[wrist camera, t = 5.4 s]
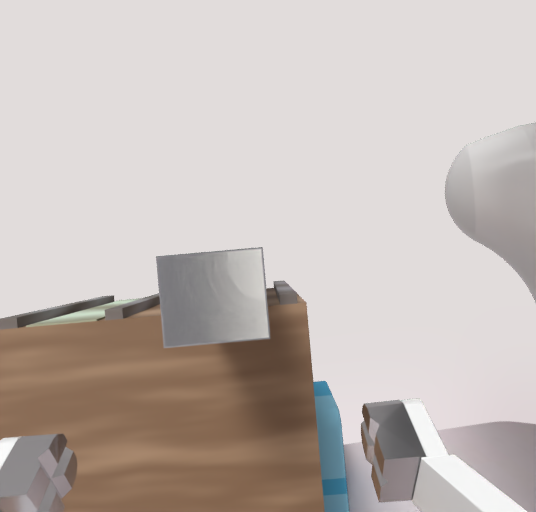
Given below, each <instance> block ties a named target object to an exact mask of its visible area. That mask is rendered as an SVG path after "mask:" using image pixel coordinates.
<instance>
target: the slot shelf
mask: <svg viewBox="0 0 536 512" xmlns="http://www.w3.org/2000/svg"><path fill="white" fill-rule="evenodd" d="M266 293H267V304H268V316H269V328H270V339H262V340H251V341H239V342H228V343H217V344H206V345H194V346H183V347H172V348H164V345H163V333H162V321H161V309H160V297H159V293H158V294H155V295H152V296H149V297H145V298H142V299H130V300H119V301H115V302H114V296H104V297H98V298H94V299H90V300H85V301H80V302H75V303H71V304H66V305H62V306H57V307H53V308H48V309H44V310H38V311H34V312H29V313H25V314H20V315H15V316H11V317H6V318H2V319H0V440H2V439H3V438H9V437H20V436H34V435H48V434H61V433H63V434H64V435H65V437H66V439H67V440H68V442H67V444H66V447H67V448H69V449H70V450H72V451H74V453H75V455H76V458H77V464H78V466H77V474H76V479H75V481H74V484H73V487H72V489H71V490H70V491H69V492H68V493H67V494H66V495H65V496H64V497H63V501H64V504H65V508H64V510H63V512H325V510H324V499H323V488H322V476H321V465H320V454H319V442H318V431H317V419H316V408H315V397H314V385H313V374H312V363H311V352H310V340H309V328H308V317H307V306H306V302H305V301H304V300H303V299H302V298H301V297H300V296H299V295H298V294H297V293H296V292H295V291H294V290H293V289H292V288H291V287H290V286H289V285H288V284H287V283H286V282H285V281H275V282H274V288H268V289H266Z"/></svg>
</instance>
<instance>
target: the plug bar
mask: <svg viewBox="0 0 536 512" xmlns="http://www.w3.org/2000/svg"><path fill="white" fill-rule="evenodd" d="M156 261H157V272H158V283H159V284H158V285H159V297H160V309H161V321H162V333H163V345H164V348H172V347H183V346H194V345H206V344H217V343H228V342H239V341H251V340H262V339H270V328H269V316H268V304H267V293H266V281H265V269H264V258H263V248H262V247H259V248H248V249H237V250H225V251H214V252H201V253H190V254H178V255H167V256H157V257H156Z"/></svg>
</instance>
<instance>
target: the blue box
mask: <svg viewBox="0 0 536 512" xmlns="http://www.w3.org/2000/svg"><path fill="white" fill-rule="evenodd" d="M313 385H314V397H315V408H316V419H317V431H318V442H319V454H320V465H321V476H322V488H323V499H324V510H325V512H349V504H348V493H347V482H346V470H345V459H344V448H343V437H342V425H341V418H340V414H339V409H338V407H337V405H336V402H335V400H334V398H333V396H332V393H331V391H330V389H329V387H328V385H327V382H326V381H320V382H313Z"/></svg>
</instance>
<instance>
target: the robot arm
mask: <svg viewBox="0 0 536 512" xmlns="http://www.w3.org/2000/svg"><path fill="white" fill-rule="evenodd" d="M445 199H446V204H447V208H448V211H449V213H450V215H451V217H452V219H453V221H454V222H455V223H456V225H457V226H458V227H459V228H460V229H461V230H462V231H463V232H464V233H465V234H466V235H467V236H469V237H470V238H472V239H473V240H475V241H477V242H479V243H481V244H483V245H484V246H486V247H487V248H489V249H491V250H492V251H494V252H495V253H496V254H498V255H499V256H500V257H502V258H503V259H504V260H505V261H506V262H507V263H508V264H509V265H511V266H512V268H513V269H514V270H515V271H516V272H517V273H518V274H519V276H520V277H521V278H522V279H523V281H524V282H525V284H526V285H527V287H528V288H529V290H530V292H531V294H532V296H533V298H534V300H535V302H536V123H531V124H526V125H521V126H517V127H514V128H511V129H508V130H505V131H503V132H500V133H497V134H494V135H491V136H488V137H486V138H483V139H481V140H478V141H475V142H473V143H470V144H468V145H466V146H465V147H464V148H463V149H462V150H461V151H460V152H459V154H458V155H457V156H456V158H455V160H454V162H453V163H452V165H451V167H450V169H449V172H448V175H447V179H446V185H445ZM362 414H363V417H364V421H363V422H362V423H361V436H362V444H363V448H364V452H365V456H366V459H367V461H368V462H370V463H371V464H372V475H371V477H372V480H373V483H374V487H375V490H376V493H377V497H378V500H379V502H393V501H407V500H412V502H413V504H414V505H415V506H416V507H417V508H418V509H419V510H420V511H421V512H527V511H526V510H525V509H523V508H522V507H521V506H520V505H518V504H517V503H516V502H514V501H513V500H512V499H511V498H509V497H508V496H507V495H506V494H504V493H503V492H502V491H501V490H499V489H498V488H497V487H495V486H494V485H493V484H492V483H490V482H489V481H488V480H487V479H485V478H484V477H483V476H481V475H480V474H479V473H478V472H476V471H475V470H474V469H473V468H471V467H470V466H469V465H468V464H466V463H465V462H464V461H462V460H461V459H460V458H459V457H457V456H456V455H455V454H453V455H449V454H448V452H447V450H446V448H445V446H444V444H443V442H442V440H441V438H440V436H439V434H438V432H437V430H436V428H435V426H434V424H433V422H432V420H431V418H430V416H429V414H428V412H427V410H426V408H425V406H424V404H423V402H422V401H421V400H420V399H408V400H393V401H384V402H375V403H366V404H364V405H363V408H362ZM67 442H68V440H67V439H66V437H65V435H64V434H63V433H61V434H48V435H34V436H20V437H9V438H3V439H2V440H0V512H63V510H64V508H65V504H64V501H63V497H64V496H65V495H66V494H67V493H68V492H69V491H70V490H71V489H72V487H73V484H74V481H75V479H76V474H77V466H78V464H77V458H76V455H75V453H74V451H72V450H70V449H69V448H67V447H66V444H67Z"/></svg>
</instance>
